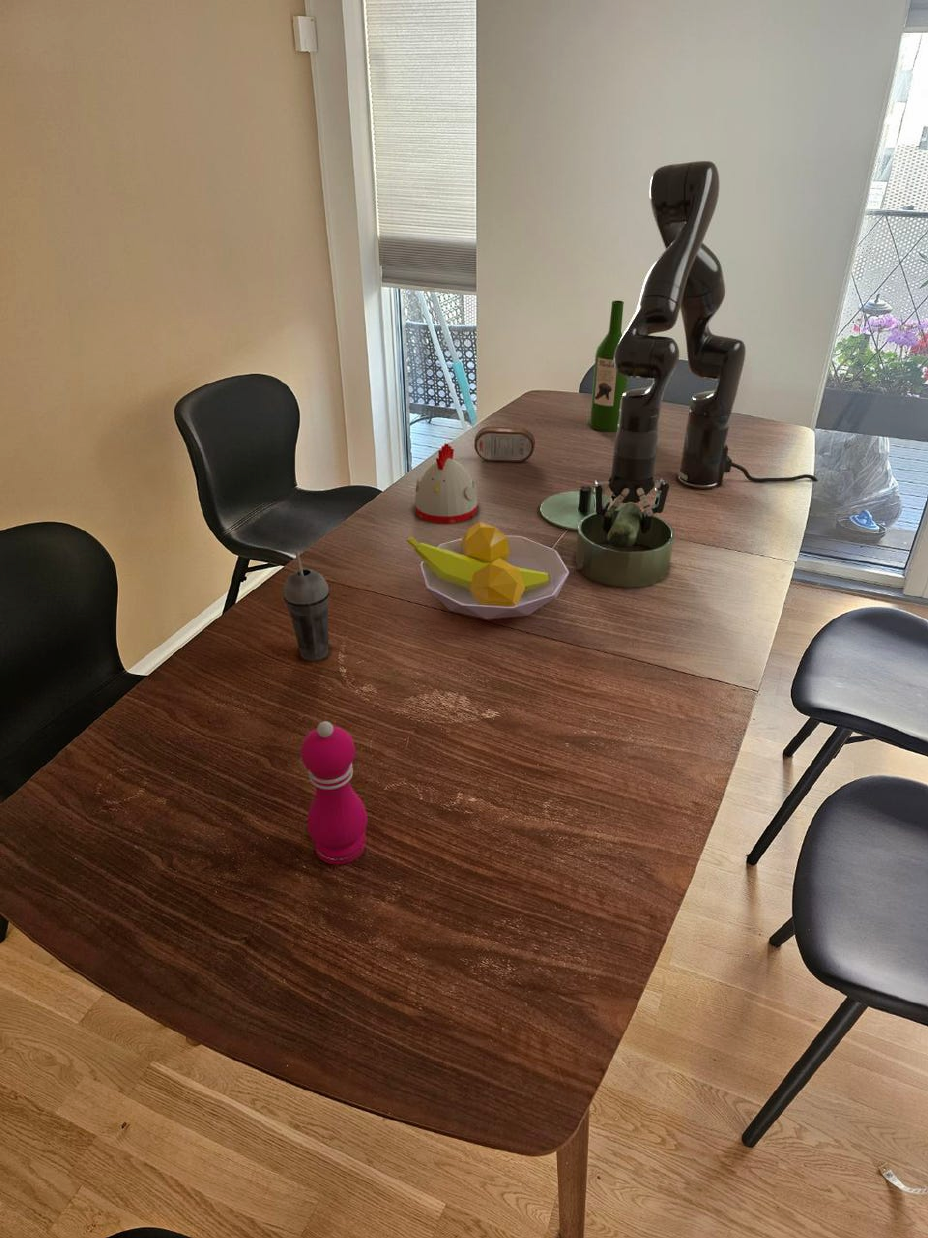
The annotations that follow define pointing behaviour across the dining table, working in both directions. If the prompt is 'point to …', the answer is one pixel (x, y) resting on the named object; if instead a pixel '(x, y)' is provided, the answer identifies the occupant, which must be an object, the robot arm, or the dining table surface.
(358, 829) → the pepper mill
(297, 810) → the dining table surface
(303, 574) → the beverage cup
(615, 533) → the vegetable
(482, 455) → the tin
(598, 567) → the green open cylinder
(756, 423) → the dining table surface
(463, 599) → the fruit bowl
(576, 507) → the lid
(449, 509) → the kitchen timer
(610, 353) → the wine bottle
